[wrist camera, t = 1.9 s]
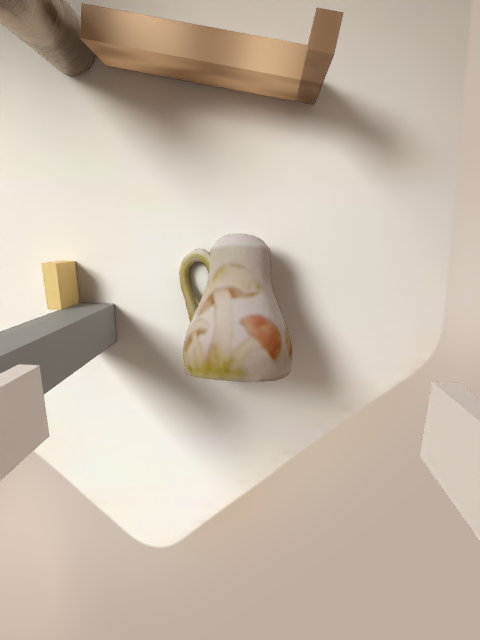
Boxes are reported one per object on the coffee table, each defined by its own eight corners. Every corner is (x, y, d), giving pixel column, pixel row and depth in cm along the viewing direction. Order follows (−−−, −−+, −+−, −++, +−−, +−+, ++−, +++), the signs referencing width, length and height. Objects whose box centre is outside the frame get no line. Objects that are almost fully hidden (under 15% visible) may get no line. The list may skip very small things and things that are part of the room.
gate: (105, 65, 21) (45, 0, 15) (107, 35, 21) (46, -42, 15) (314, 104, 21) (334, 54, 15) (320, 75, 20) (343, 12, 15)
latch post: (62, 260, 25) (-220, 296, 10) (110, 261, 25) (-110, 299, 10) (71, 339, 26) (-163, 467, 12) (116, 341, 26) (-66, 473, 12)
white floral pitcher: (289, 221, 23) (337, 314, 16) (261, 322, 30) (287, 422, 22) (181, 211, 22) (181, 309, 15) (177, 320, 28) (175, 425, 21)
